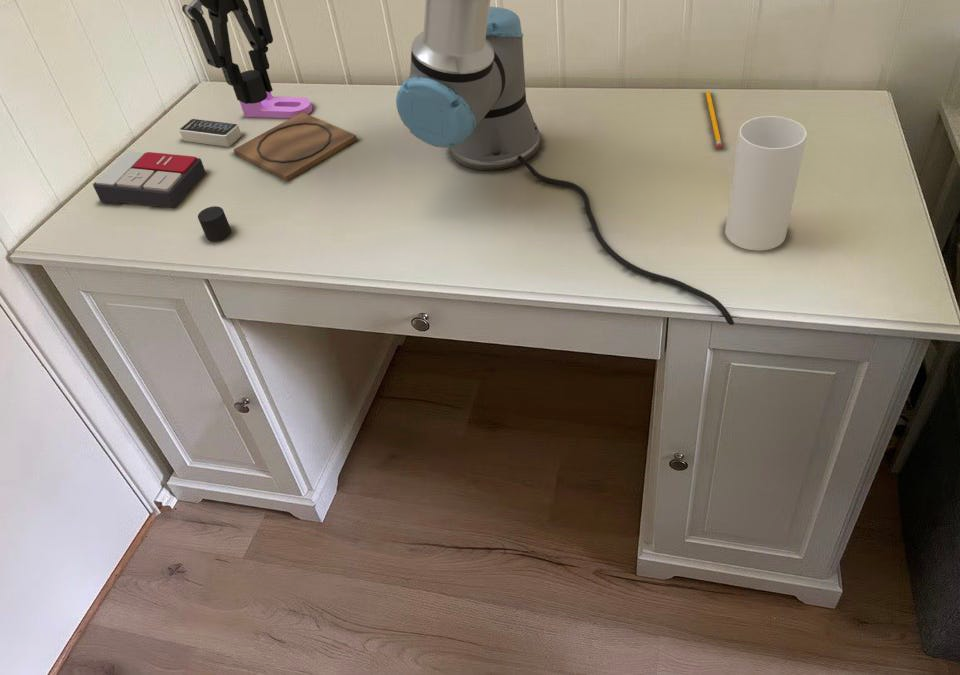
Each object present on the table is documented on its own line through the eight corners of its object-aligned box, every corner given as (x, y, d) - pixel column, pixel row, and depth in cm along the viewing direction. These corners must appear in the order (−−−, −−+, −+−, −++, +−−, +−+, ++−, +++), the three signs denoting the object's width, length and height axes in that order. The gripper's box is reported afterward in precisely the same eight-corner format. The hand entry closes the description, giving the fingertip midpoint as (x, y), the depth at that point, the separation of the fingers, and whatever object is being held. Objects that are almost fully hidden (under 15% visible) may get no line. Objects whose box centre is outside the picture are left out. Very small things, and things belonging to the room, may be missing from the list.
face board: (357, 140, 142) (355, 134, 141) (287, 181, 134) (285, 175, 133) (303, 116, 151) (301, 110, 150) (234, 154, 143) (232, 148, 142)
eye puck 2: (272, 95, 132) (265, 73, 129) (252, 106, 130) (245, 83, 127) (258, 89, 134) (251, 67, 131) (239, 99, 132) (231, 77, 129)
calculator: (167, 189, 129) (89, 181, 132) (176, 211, 132) (99, 202, 135) (200, 154, 137) (125, 146, 140) (207, 175, 140) (134, 167, 143)
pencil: (717, 149, 128) (717, 145, 127) (705, 95, 141) (706, 91, 140) (722, 149, 128) (722, 145, 127) (710, 95, 140) (710, 91, 140)
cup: (749, 257, 108) (767, 155, 96) (713, 227, 113) (725, 127, 102) (798, 238, 109) (821, 136, 98) (760, 209, 115) (778, 109, 104)
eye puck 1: (236, 232, 125) (228, 211, 122) (215, 245, 123) (206, 224, 120) (222, 223, 127) (214, 203, 124) (201, 236, 125) (192, 215, 122)
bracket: (244, 116, 153) (233, 83, 148) (257, 102, 157) (246, 69, 152) (305, 118, 150) (295, 84, 145) (316, 104, 154) (307, 70, 149)
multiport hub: (229, 147, 145) (225, 135, 143) (182, 140, 149) (177, 129, 147) (242, 134, 148) (239, 123, 146) (196, 129, 151) (191, 118, 150)
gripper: (240, -74, 122) (281, 69, 138) (143, -37, 113) (200, 111, 130) (268, -67, 118) (308, 80, 134) (171, -29, 109) (225, 123, 126)
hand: (255, 94), depth 132 cm, fingers closed on eye puck 2, 4 cm apart
